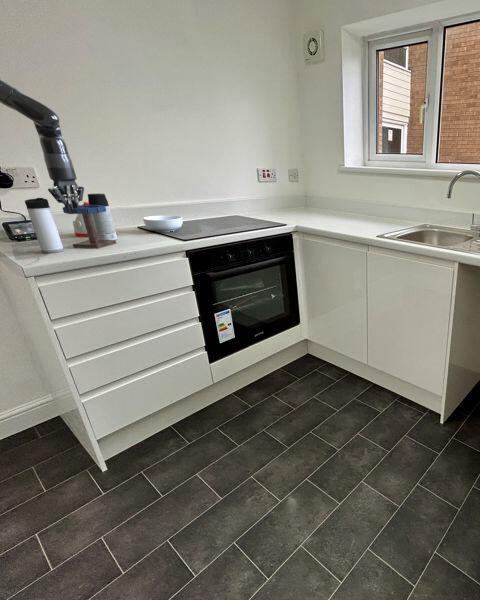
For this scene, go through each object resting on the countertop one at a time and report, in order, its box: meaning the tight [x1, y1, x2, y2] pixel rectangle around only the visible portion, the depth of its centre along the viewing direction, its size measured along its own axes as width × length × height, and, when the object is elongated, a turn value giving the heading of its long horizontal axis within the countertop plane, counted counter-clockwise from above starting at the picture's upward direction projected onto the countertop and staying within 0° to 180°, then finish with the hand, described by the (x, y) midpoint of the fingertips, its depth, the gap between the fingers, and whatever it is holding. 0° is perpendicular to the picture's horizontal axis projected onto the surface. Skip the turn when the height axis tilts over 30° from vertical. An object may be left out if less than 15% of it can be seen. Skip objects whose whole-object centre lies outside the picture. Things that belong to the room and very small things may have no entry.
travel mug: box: [24, 197, 65, 254], centre depth 133 cm, size 6×7×20 cm
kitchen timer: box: [72, 201, 98, 238], centre depth 165 cm, size 14×14×15 cm
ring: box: [62, 204, 106, 215], centre depth 142 cm, size 13×13×2 cm
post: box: [72, 213, 117, 249], centre depth 145 cm, size 10×10×16 cm
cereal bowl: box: [142, 215, 183, 233], centre depth 179 cm, size 17×17×7 cm
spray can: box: [87, 193, 118, 241], centre depth 154 cm, size 7×7×20 cm
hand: (74, 213), depth 138 cm, fingers closed on ring, 2 cm apart
